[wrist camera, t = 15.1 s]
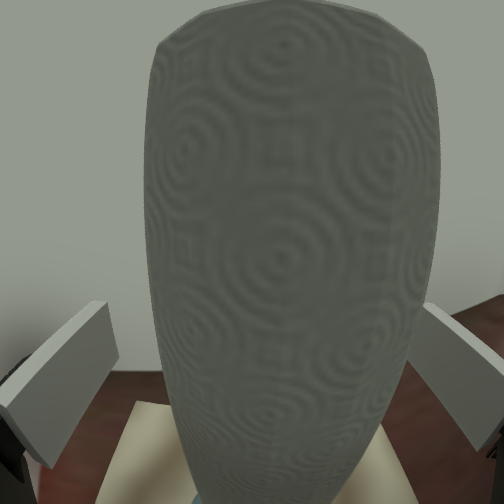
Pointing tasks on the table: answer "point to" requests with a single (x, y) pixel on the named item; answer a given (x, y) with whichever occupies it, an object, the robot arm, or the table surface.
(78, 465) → the table surface
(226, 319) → the paper towel roll
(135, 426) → the plate
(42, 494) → the table surface
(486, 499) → the table surface
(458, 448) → the table surface
